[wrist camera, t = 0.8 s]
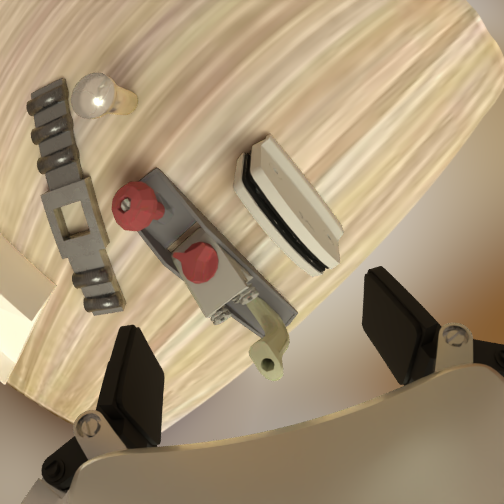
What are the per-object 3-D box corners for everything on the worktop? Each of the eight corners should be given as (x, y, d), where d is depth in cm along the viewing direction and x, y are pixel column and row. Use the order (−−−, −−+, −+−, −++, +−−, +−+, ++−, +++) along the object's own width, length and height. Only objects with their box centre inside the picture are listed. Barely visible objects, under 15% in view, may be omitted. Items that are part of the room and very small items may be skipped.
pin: (108, 92, 27) (68, 82, 17) (139, 82, 27) (110, 66, 17) (113, 123, 29) (75, 125, 19) (144, 113, 29) (117, 110, 19)
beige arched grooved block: (343, 227, 39) (355, 276, 31) (315, 243, 41) (319, 294, 33) (268, 131, 32) (260, 158, 24) (238, 153, 34) (221, 188, 27)
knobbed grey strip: (29, 97, 24) (16, 96, 22) (71, 76, 25) (61, 73, 22) (92, 308, 38) (86, 321, 36) (132, 301, 39) (128, 314, 36)
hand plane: (264, 338, 46) (286, 413, 32) (113, 199, 33) (62, 248, 20) (299, 313, 45) (333, 385, 31) (151, 159, 32) (113, 185, 18)
